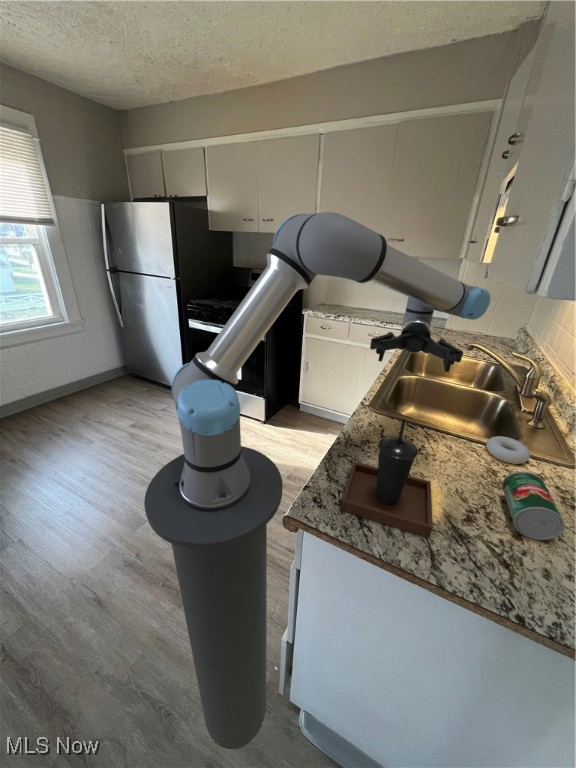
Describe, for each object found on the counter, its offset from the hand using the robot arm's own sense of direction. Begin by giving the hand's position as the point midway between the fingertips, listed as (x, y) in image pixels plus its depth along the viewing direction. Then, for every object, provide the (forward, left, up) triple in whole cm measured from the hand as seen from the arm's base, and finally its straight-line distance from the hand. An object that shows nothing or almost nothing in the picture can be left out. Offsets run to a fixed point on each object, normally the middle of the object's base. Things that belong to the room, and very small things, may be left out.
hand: (413, 360), depth 67 cm
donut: (+29, +18, -29) cm, 45 cm away
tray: (0, -12, -29) cm, 31 cm away
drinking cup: (0, -12, -29) cm, 31 cm away
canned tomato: (+28, +1, -25) cm, 37 cm away
